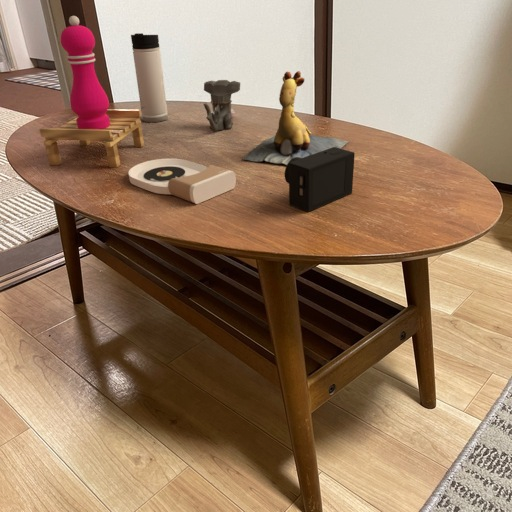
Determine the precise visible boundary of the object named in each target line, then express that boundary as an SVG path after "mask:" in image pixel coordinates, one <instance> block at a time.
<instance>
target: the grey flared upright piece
mask: <svg viewBox="0 0 512 512" xmlns="http://www.w3.org/2000/svg"><path fill="white" fill-rule="evenodd" d="M203 91H204V92H206V93H208V94H210V103H211V106H212V111H211V108H210V106H209V104H208V103H203V107H204V109H205V111H206V120H207V121H208V123H209V128H210V129H212V131H214V132H218V131H224V130H231V129H232V128H233V125H234V122H233V117H234V115H235V113H236V112H237V111H235V110H234V108H232V102H233V101H232V95H233V94H236V93H238V92H240V91H241V82H240V81H236V80H231V81H230V80H228V79H217V80H208V81H204V83H203Z"/></svg>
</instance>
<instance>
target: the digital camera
mask: <svg viewBox="0 0 512 512" xmlns="http://www.w3.org/2000/svg"><path fill="white" fill-rule="evenodd" d="M354 169H355V152H354V151H350V150H347V149H344V148H341V149H340V148H336V147H332V148H330V149H327V150H324V151H321V152H318V153H315V154H312V155H309V156H306V157H304V158H300V157H295V158H293V159H291V160H290V161H289V162H288V164H287V165H286V166H285V168H284V180H285V182H286V183H287V184H288V205H290V206H292V207H295V208H297V209H300V210H302V211H304V212H307V213H310V212H312V211H315V210H317V209H319V208H321V207H323V206H326V205H328V204H331V203H333V202H335V201H337V200H339V199H342V198H344V197H347V196H349V195H351V194H353V183H354ZM346 195H347V196H346Z"/></svg>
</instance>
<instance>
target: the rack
mask: <svg viewBox="0 0 512 512" xmlns="http://www.w3.org/2000/svg"><path fill="white" fill-rule="evenodd" d="M105 114H106V115H108V116H109V120H110V126H109V127H107V128H104V129H78V126H77V122H76V119H77V118H78V117H79V116H78V115H77V117H75V118H73V119H72V120H70V121H67V122H66V124H62V125H61V126H59V127H58V128H57V127H41V128H39V133H40V137H41V138H44V139H45V140H43V145H44V146H45V150H46V154H47V158H48V162H49V166H59V165H61V164H62V159H61V154H60V150H59V146H58V142H59V141H79V145H80V146H82V147H83V146H85V147H86V146H89V145H90V144H91V141H92V142H104V144H103V145H104V147H105V150H106V157H107V162H108V167H109V168H115V169H116V168H118V167H120V166H121V160H120V155H119V149H118V144H117V143H119V142H120V141H121V140H123V139H124V138H125V137H127V136H128V135H129V134H132V139H133V140H132V141H133V147H134V148H143V146H144V145H145V142H144V134H143V127H142V121H141V118H142V112H141V109H116V108H115V109H114V108H113V109H111V108H108V110H107V111H106V113H105Z"/></svg>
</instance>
